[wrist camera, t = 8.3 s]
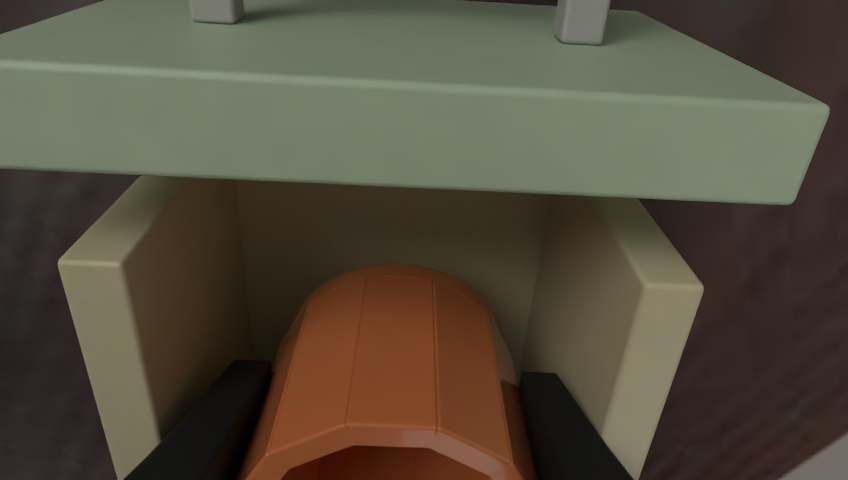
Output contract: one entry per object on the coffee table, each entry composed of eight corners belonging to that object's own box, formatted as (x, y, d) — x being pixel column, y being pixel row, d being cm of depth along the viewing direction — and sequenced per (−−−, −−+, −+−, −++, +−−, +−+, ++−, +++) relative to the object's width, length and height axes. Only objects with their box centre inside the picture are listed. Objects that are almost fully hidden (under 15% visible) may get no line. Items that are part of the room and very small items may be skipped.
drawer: (113, -316, 9) (-311, -623, 4) (701, -268, 10) (1073, -480, 4) (213, 366, 16) (111, 608, 10) (558, 377, 16) (631, 615, 11)
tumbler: (291, 430, 13) (244, 621, 10) (279, 255, 11) (215, 419, 7) (492, 437, 13) (518, 628, 10) (519, 268, 11) (565, 433, 8)
